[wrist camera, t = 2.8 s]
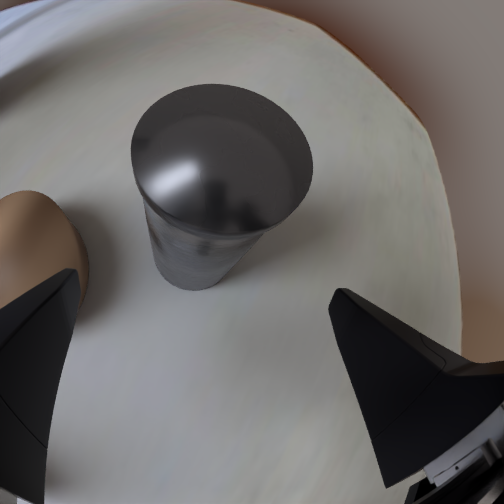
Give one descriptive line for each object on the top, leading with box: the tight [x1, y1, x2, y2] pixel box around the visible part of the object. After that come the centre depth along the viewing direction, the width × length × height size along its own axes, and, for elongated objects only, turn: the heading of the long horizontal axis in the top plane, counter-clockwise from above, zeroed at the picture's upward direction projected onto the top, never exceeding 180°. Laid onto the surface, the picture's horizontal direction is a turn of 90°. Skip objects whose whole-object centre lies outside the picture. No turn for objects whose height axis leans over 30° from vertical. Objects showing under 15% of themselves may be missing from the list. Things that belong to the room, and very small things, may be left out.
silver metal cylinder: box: [131, 84, 313, 291], centre depth 15 cm, size 6×6×13 cm
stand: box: [0, 191, 89, 311], centre depth 15 cm, size 10×10×4 cm
